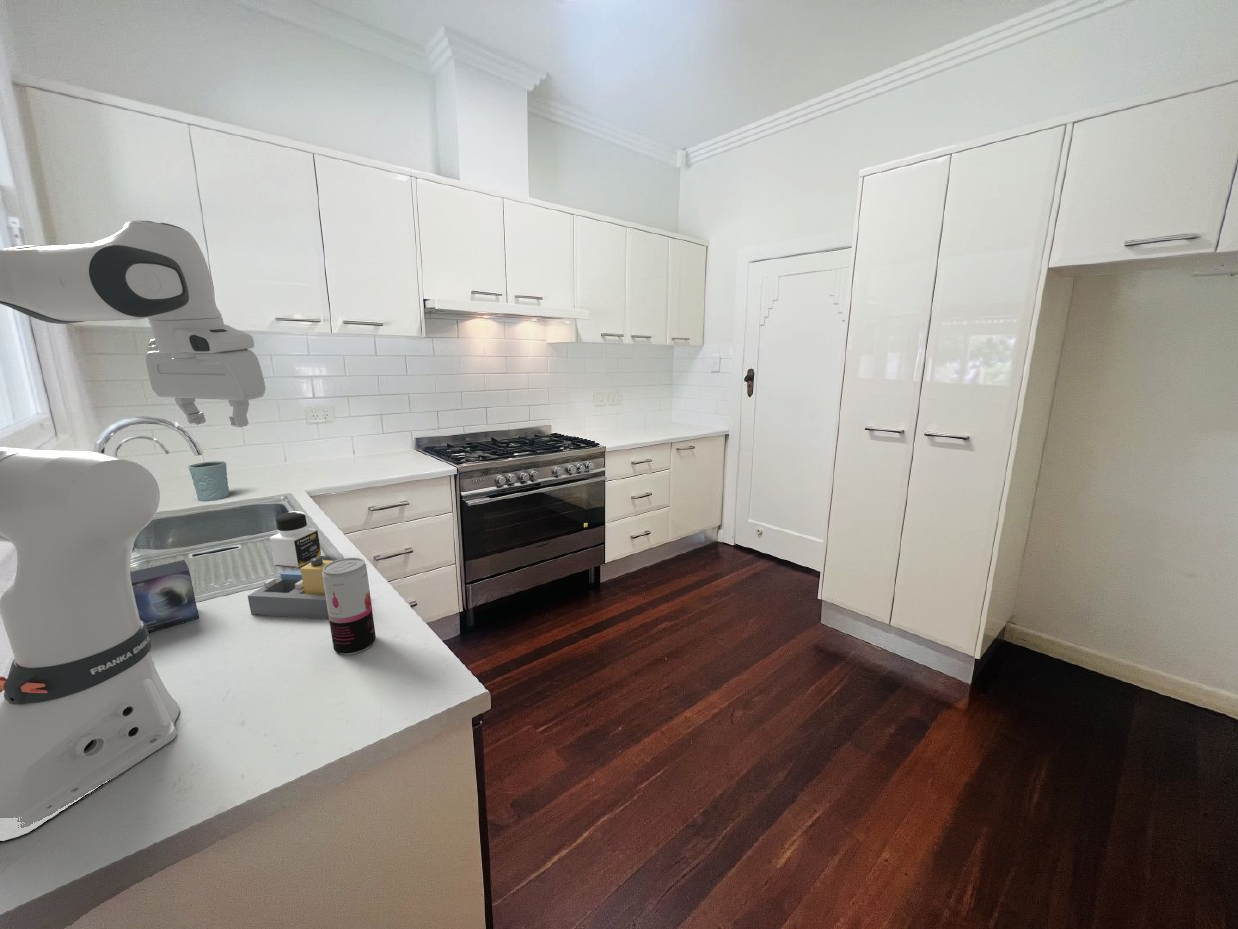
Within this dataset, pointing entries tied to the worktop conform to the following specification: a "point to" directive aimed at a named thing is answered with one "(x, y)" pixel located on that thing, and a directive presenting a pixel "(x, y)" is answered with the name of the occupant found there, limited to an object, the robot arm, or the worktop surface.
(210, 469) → the teal cup
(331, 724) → the worktop surface
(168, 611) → the small box
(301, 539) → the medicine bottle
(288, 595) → the grey compartment tray
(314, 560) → the drawer with knob
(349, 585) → the beverage can
